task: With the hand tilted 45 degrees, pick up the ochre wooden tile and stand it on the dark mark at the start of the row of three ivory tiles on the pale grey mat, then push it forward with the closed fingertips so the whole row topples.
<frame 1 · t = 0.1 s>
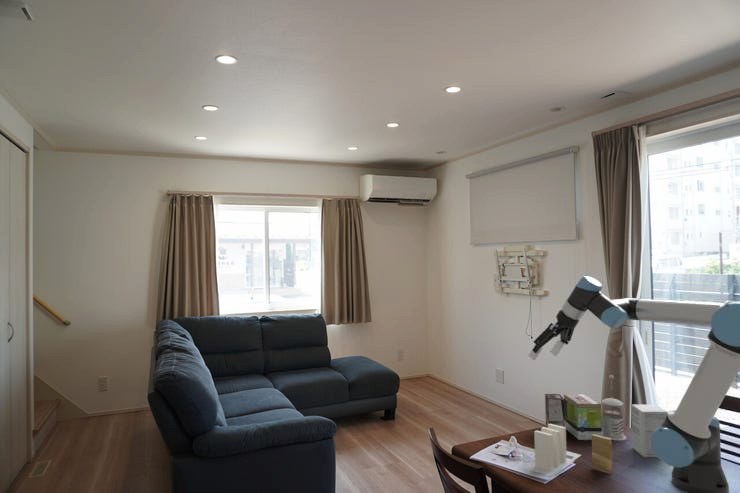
hand: (542, 355, 187), 36 cm above the table, tool tilted 35°, fingers open, 13 cm apart
ivory tile 2: (551, 463, 171), point 1 cm above the table, touching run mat
supplement box: (650, 453, 181), on the table
ivory tile 1: (557, 459, 174), point 1 cm above the table, touching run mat
ochre tile: (602, 472, 165), on the table
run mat: (554, 463, 173), on the table
tea box: (582, 434, 201), on the table
coffee box: (555, 436, 200), on the table
french press: (614, 436, 199), on the table
ivory tile 3: (544, 467, 167), point 1 cm above the table, touching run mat
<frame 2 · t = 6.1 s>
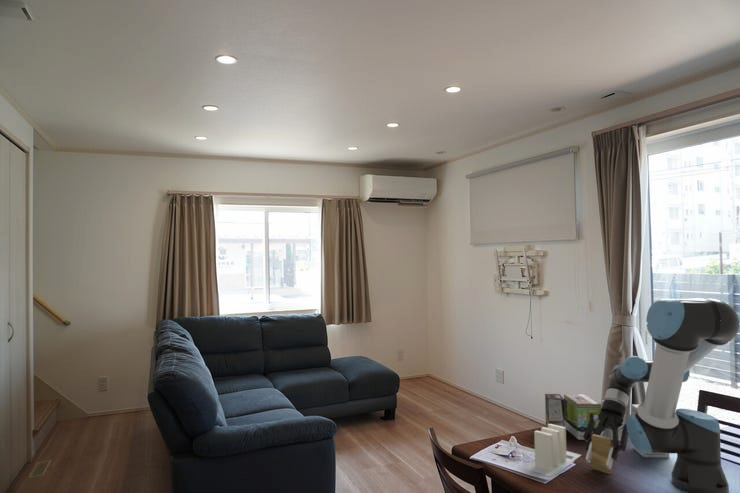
hand: (597, 463, 162), 4 cm above the table, tool tilted 45°, fingers closed on ochre tile, 6 cm apart
ochre tile: (602, 472, 165), on the table, touching gripper
everything else where it was.
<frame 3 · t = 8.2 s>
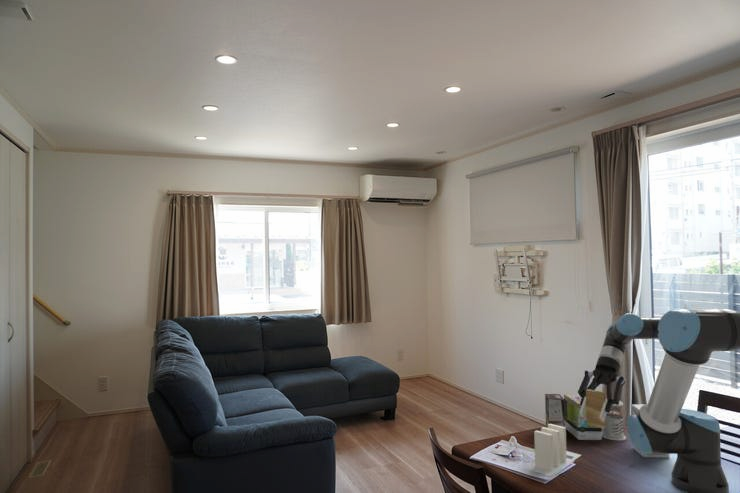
hand: (591, 417, 165), 19 cm above the table, tool tilted 45°, fingers closed on ochre tile, 6 cm apart
ochre tile: (596, 425, 168), point 15 cm above the table, touching gripper
everything else where it was.
when the fingers open (12 cm above the table, at t = 10.5 s): ochre tile stays where it is, point 8 cm above the table.
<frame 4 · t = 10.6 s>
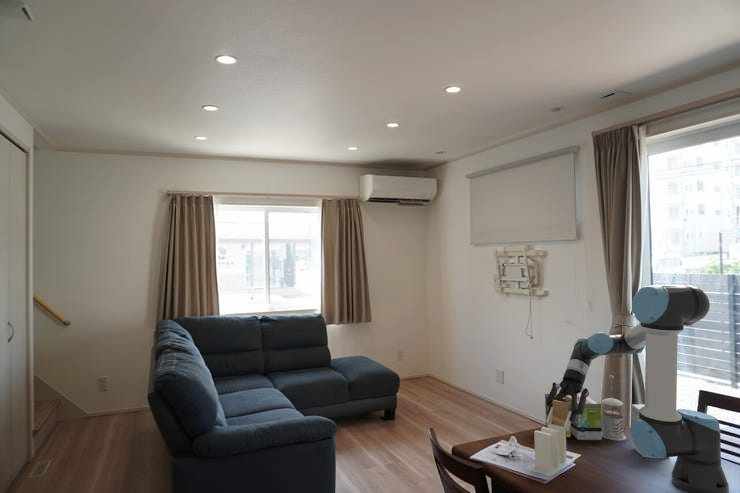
hand: (557, 426, 176), 12 cm above the table, tool tilted 45°, fingers open, 6 cm apart
ivory tile 1: (557, 459, 174), point 1 cm above the table, touching gripper, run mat
ochre tile: (561, 434, 179), point 8 cm above the table
everything else where it was.
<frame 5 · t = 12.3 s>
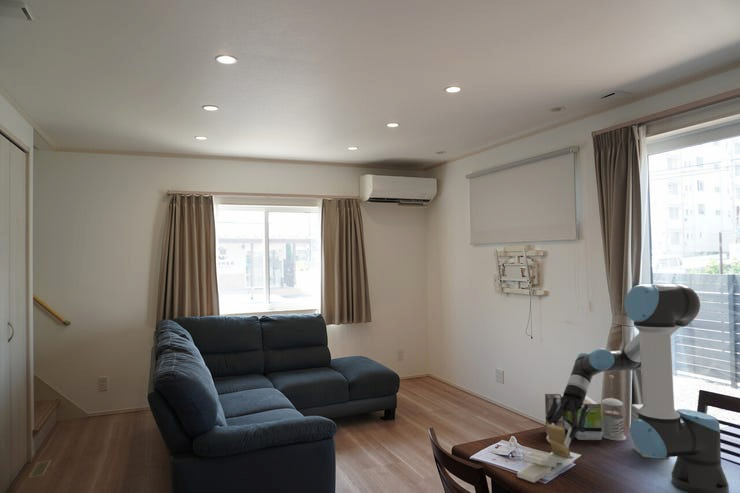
hand: (557, 442, 176), 6 cm above the table, tool tilted 45°, fingers closed on ochre tile, 6 cm apart
ivory tile 2: (548, 462, 170), point 2 cm above the table, tilted 69°, touching ivory tile 1, ivory tile 3
ivory tile 1: (555, 458, 173), point 1 cm above the table, tilted 69°, touching ivory tile 2, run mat
ochre tile: (561, 454, 178), point 1 cm above the table, tilted 24°, touching gripper, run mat
ivory tile 3: (543, 466, 167), point 1 cm above the table, tilted 90°, touching ivory tile 2, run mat
everything else where it was.
when the fingers open (6 cm above the table, at t = 12.4 s): ochre tile stays where it is and tips over, resting on ivory tile 1, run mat.
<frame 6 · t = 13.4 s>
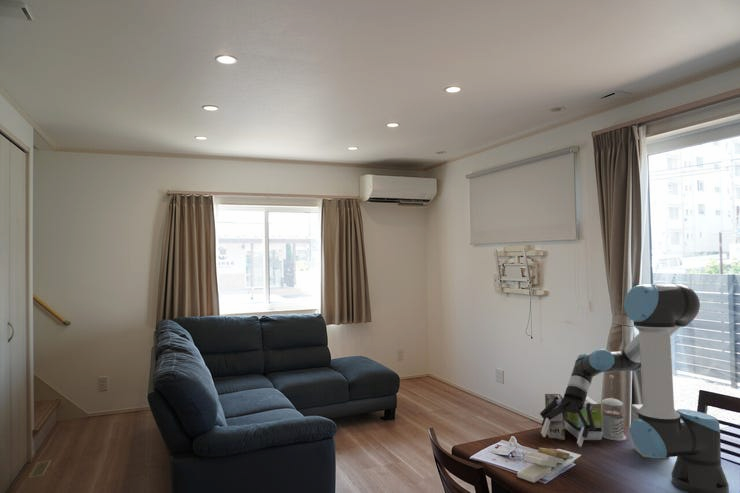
hand: (560, 439, 176), 7 cm above the table, tool tilted 45°, fingers open, 13 cm apart
ivory tile 1: (555, 458, 173), point 1 cm above the table, tilted 69°, touching ivory tile 2, ochre tile, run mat
ochre tile: (561, 453, 178), point 1 cm above the table, tilted 72°, touching ivory tile 1, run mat
everything else where it was.
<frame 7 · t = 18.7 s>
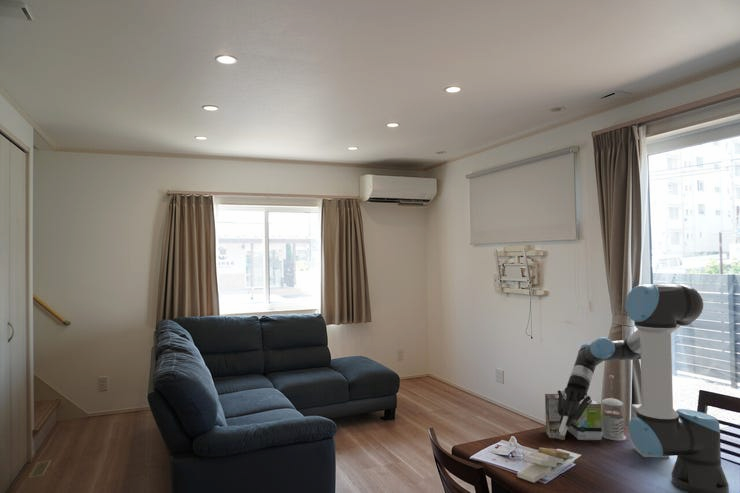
hand: (561, 433, 178), 9 cm above the table, tool tilted 45°, fingers closed
nothing on the table moved.
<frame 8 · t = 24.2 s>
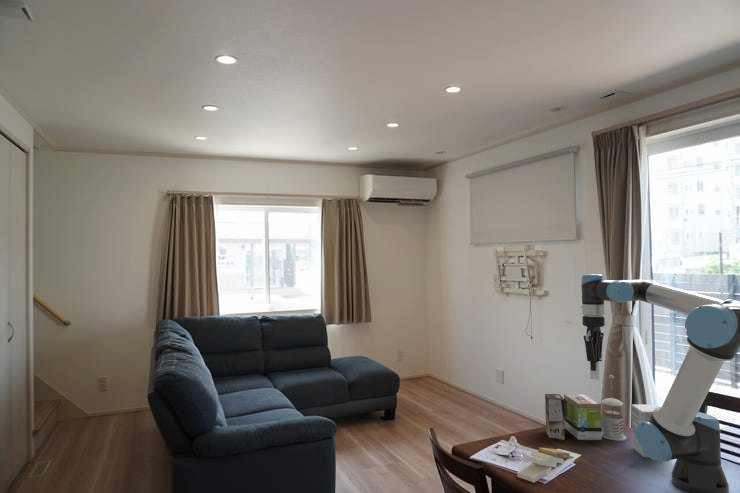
hand: (594, 379, 179), 28 cm above the table, tool pointing down, fingers closed
nothing on the table moved.
at the end: ochre tile inside the target area on the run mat (0.8 cm from its centre), point 1.4 cm above the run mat's base; ochre tile tilted 72°; ivory tile 3 tilted 90° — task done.
